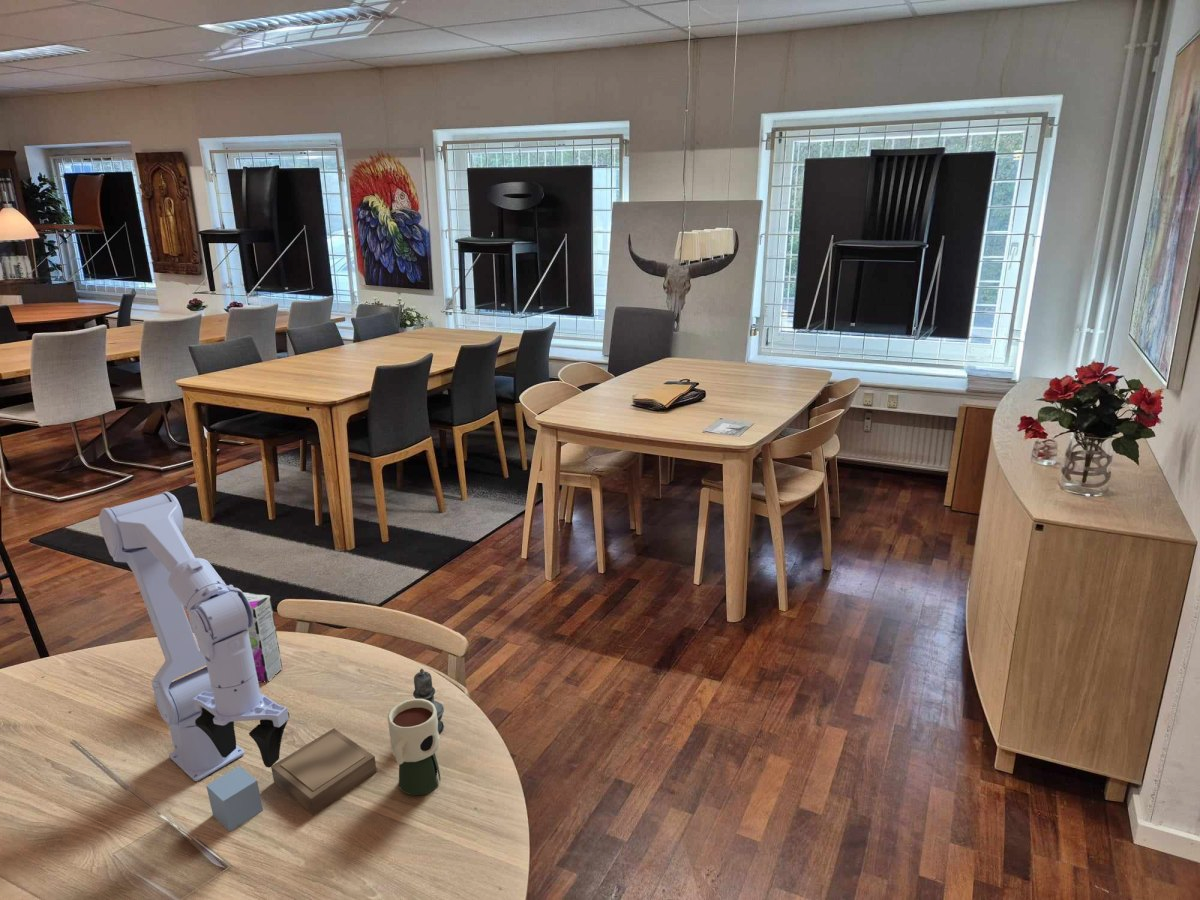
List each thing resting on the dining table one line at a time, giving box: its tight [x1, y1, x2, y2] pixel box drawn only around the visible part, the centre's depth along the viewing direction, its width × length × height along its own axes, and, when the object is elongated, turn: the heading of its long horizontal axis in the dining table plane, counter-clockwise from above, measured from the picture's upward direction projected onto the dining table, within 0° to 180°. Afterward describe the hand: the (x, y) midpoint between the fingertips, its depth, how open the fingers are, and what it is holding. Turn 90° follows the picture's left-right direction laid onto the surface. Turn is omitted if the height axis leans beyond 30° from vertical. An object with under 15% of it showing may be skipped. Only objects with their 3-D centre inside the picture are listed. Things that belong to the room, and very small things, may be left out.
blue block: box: [205, 765, 264, 832], centre depth 110 cm, size 5×5×6 cm
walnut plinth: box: [270, 727, 378, 816], centre depth 117 cm, size 11×11×3 cm
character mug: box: [387, 698, 441, 796], centre depth 114 cm, size 11×7×13 cm, turn 168°
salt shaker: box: [412, 668, 445, 735], centre depth 126 cm, size 6×6×12 cm
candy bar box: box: [242, 591, 283, 683], centre depth 141 cm, size 11×5×16 cm, turn 77°
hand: (250, 757), depth 108 cm, fingers open, 7 cm apart
